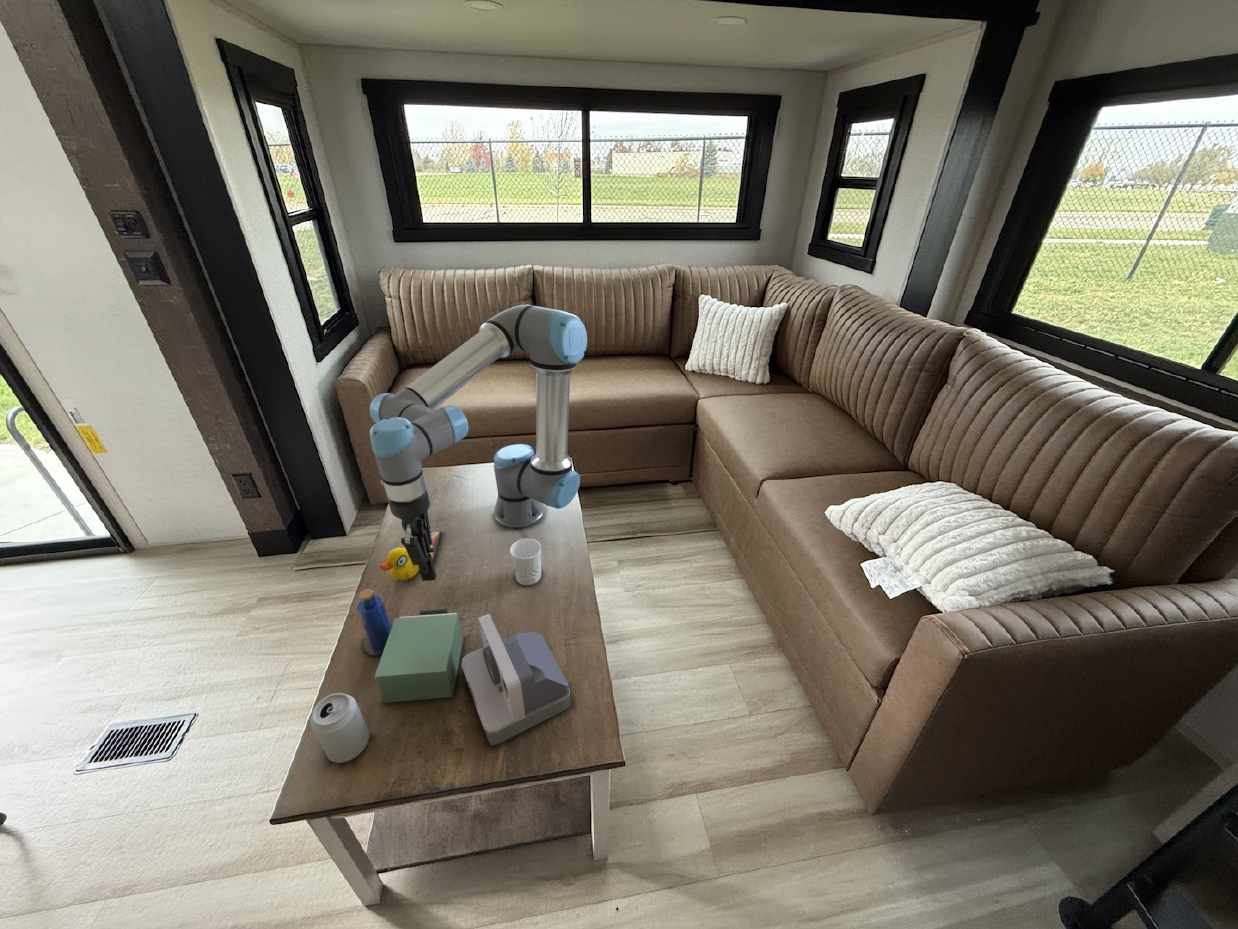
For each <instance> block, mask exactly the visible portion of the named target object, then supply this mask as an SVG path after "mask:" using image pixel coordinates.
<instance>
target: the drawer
mask: <svg viewBox="0 0 1238 929" xmlns="http://www.w3.org/2000/svg"><path fill="white" fill-rule="evenodd" d="M448 612H449V611H448V608H447V607H445V608H430V609H429V608H428V609H427V608H426V609H420V610H419V615H408V616H407V615H406V616H400V617H399V618H409V617H424V616H438V615H452V614H458V613H457V612H451V613H450V612H449V613H448Z"/></svg>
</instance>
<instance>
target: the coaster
mask: <svg viewBox="0 0 1238 929" xmlns="http://www.w3.org/2000/svg"><path fill="white" fill-rule="evenodd" d="M391 627H392V625H391ZM363 650H364V652H365V654H367V655H369V656H372V657H380V656H381V657H382V654H383V651H384V649H379V650H377V649H373V648H372V647H371V645H370V643H369V640H368V637H367V636H366V638H365V640H364V643H363Z"/></svg>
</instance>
